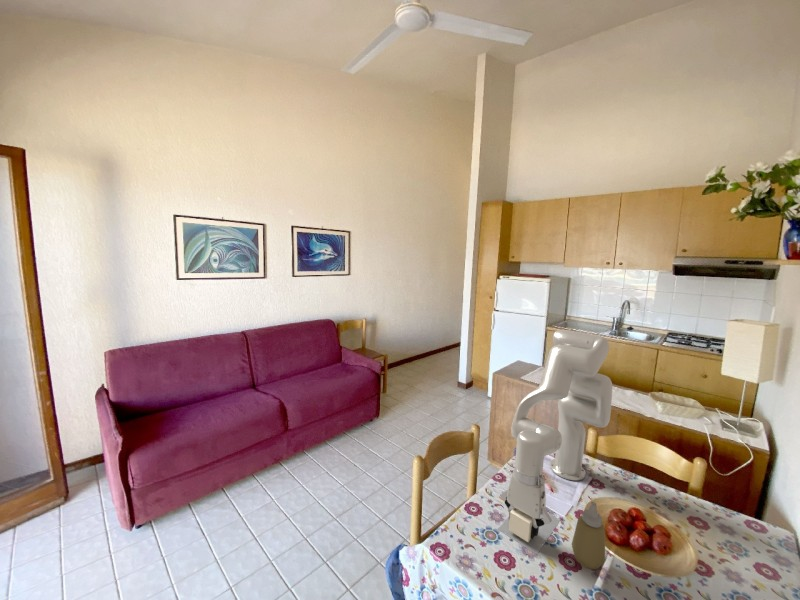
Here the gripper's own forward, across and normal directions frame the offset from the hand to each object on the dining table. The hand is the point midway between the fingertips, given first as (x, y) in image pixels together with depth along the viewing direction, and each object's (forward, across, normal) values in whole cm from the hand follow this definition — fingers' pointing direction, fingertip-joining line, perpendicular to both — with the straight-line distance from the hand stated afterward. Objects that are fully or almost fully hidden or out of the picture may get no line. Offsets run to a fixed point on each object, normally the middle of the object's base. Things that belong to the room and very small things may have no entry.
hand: (522, 529), depth 102 cm
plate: (+3, 0, -5) cm, 6 cm away
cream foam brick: (0, 0, 0) cm, 0 cm away
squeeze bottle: (+3, -16, -5) cm, 17 cm away
